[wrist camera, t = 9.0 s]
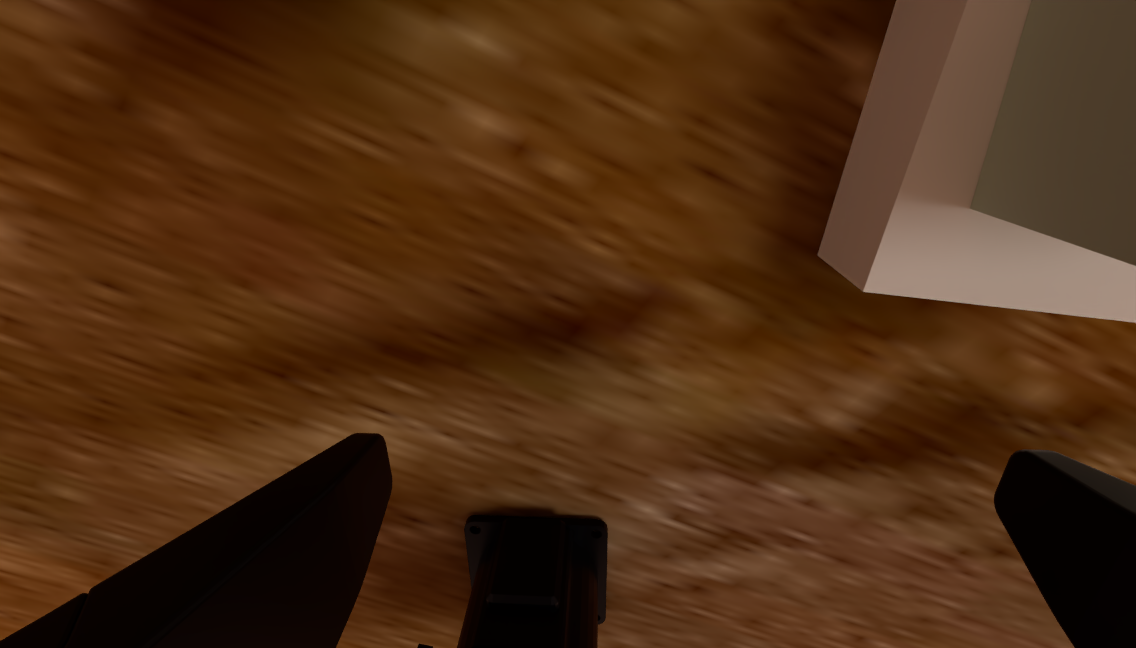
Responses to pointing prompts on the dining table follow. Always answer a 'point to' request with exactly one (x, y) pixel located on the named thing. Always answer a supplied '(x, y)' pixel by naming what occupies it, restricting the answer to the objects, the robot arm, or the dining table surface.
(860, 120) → the plinth
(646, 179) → the dining table surface
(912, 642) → the dining table surface
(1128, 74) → the sage cube
